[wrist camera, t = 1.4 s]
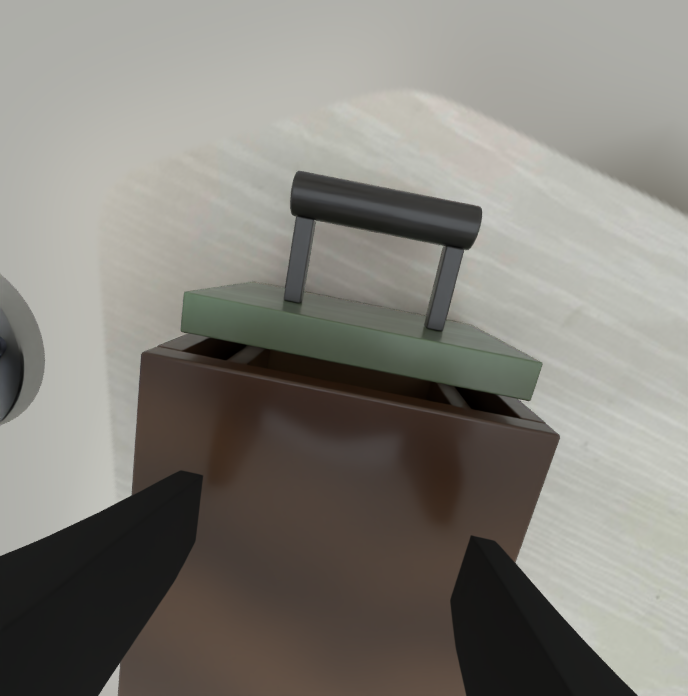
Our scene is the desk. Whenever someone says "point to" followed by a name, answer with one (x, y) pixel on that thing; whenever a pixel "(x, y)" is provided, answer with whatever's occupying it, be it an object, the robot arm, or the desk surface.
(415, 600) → the cabinet
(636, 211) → the desk surface
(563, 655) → the robot arm
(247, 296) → the drawer
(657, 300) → the desk surface
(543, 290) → the desk surface
